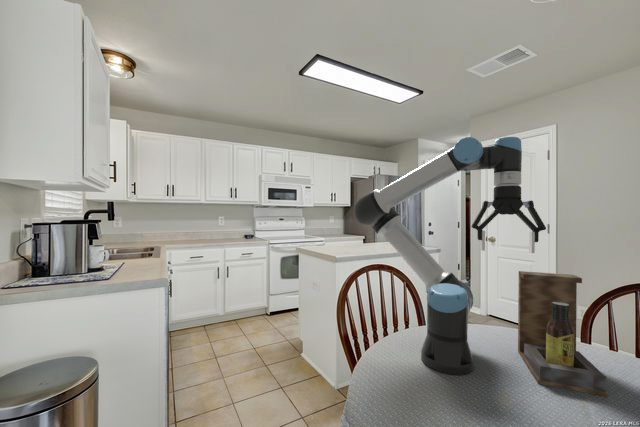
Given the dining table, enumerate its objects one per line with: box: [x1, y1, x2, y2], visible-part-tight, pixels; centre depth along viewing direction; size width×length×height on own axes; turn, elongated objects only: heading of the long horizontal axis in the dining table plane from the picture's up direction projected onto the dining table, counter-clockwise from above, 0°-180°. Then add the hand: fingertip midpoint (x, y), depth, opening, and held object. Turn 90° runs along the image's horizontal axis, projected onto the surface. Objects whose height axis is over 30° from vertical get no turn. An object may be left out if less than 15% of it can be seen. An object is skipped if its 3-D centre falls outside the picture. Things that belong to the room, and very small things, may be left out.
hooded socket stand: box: [517, 270, 609, 398], centre depth 86 cm, size 15×20×28 cm
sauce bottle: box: [546, 302, 574, 368], centre depth 84 cm, size 6×6×20 cm
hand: (506, 251), depth 94 cm, fingers open, 13 cm apart
